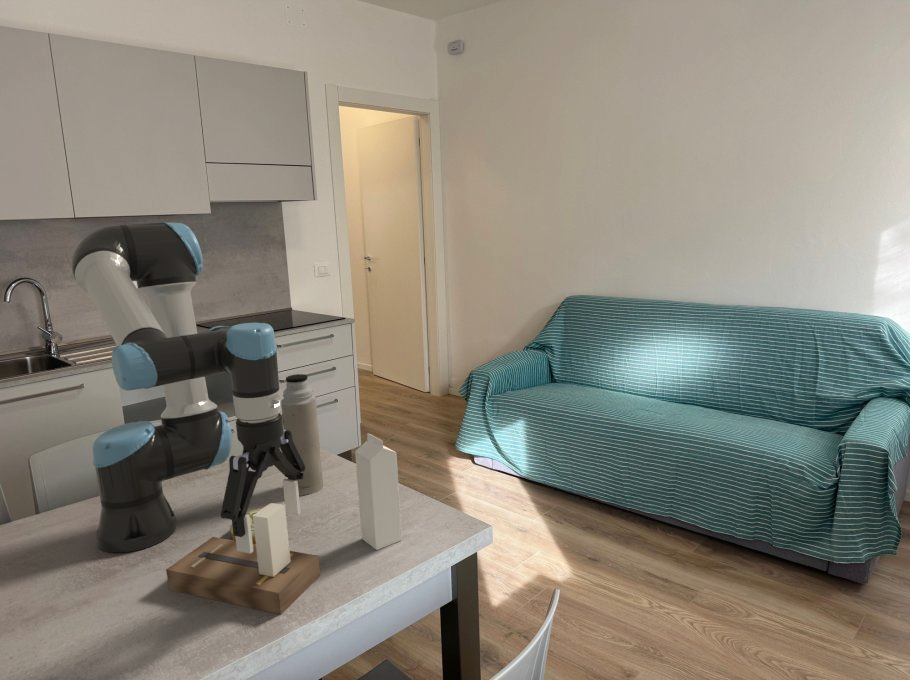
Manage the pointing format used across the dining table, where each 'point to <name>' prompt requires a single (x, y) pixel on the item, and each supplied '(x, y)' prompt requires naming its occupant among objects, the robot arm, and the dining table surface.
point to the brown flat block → (241, 576)
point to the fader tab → (271, 539)
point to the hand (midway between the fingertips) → (270, 531)
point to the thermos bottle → (303, 430)
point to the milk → (378, 493)
